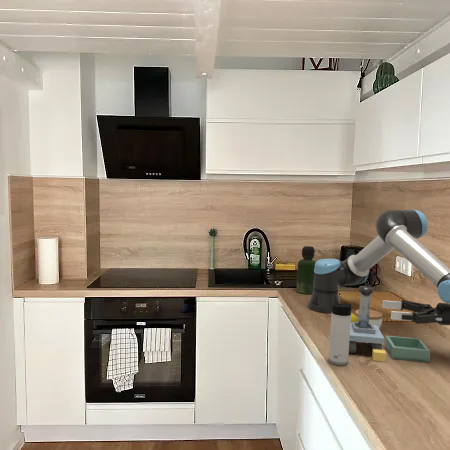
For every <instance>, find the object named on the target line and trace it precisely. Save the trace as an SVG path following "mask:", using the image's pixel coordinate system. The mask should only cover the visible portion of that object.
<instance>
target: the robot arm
mask: <svg viewBox="0 0 450 450" xmlns="http://www.w3.org/2000/svg"><path fill="white" fill-rule="evenodd" d="M428 224H429V223H428V219H427V217H426V215H425V214H424V213H423V212H421V211H420V210H417V209H388V210H385V211H383V212H382V213H381V214H379V216H378V217H377V218H376V221H375V230H376V233H377V236H376V237H375V238H374V239H372V240H371V241H370V243H368V244H367V245H366V246H364V248H363V249H361V250H360V251H359V252H358V253H357V254H352V255H350V256H348V257H347V258H346V259H345V260H343V261H342V260H339V259H337V258H321V259H318V260H316V263H315V268H314V285H313V293H312V294H310V295H311V296H310V298H309V301H308V308H309V309H310V310H311V311H315V312H318V313H325V314H332V305H333V304H342V302H341V299H340V296H339V287H342V286H358V285H361V284H364V283H365V282H366V281H367V279H369V273H370V269H371V268H372V267H374V266H375V265H376V264H377V263H379V262H380V261H381V260H382V259H383V258H384V257H386V256H387V255H389V254H390V253H391V252H392V251H393V250H394V249H395V250H396V251H397V252H398V253H400V254H401V256H403V257H404V258H405V259H406V260H407V261H408V262H409V263H410V264H411V265H412V266H413V267H415V268H416V269H417V270H418V271H419V272H420V273H421V274H422V275H423V276H424V277H425V278H426V279H428V280H429V282H431V283H432V284H433V285H434V286H435V287H436V289H437V290H436V291H437V294H438V297H439V299H440V300H441V301H442V302H438V303H437V304H436V306H435V307H433V306H431V304H429V303H421V302H416V301H409V300H405V299H402V300H401V301H397V300H386V299H385V300H384V299H383V300H382V306H381V307H382V309H390V310H391V309H392V310H391V311H390V320H394V321H405V322H412V323H415V324H416V325H421V324H422V325H423V324H434V323H437V324H438V325H439V326H440V325H441V326H450V268H449V267H448V266H447V265H446V264H445V263H444V262H443V261H442V260H440V259H439V258H438V257H437V256H436V255H434V254H433V252H431V251H429V249H428V248H427V247H426V246H425V245H423V243H421V242H420V241H418V240H417V239H421V238H422V237H424V236H425V235H426V233H427V231H428V226H429V225H428ZM394 310H395V311H394ZM396 310H400V311H396ZM403 310H405V311H403ZM407 311H410V312H407Z"/></svg>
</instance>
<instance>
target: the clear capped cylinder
mask: <svg viewBox="0 0 450 450" xmlns="http://www.w3.org/2000/svg"><path fill="white" fill-rule="evenodd" d="M358 292H359V293H360V296H359V307H358V308H359V321H358V328H365V329H368V328H369V315H370V310H371V301H372V294H374V287H372V286H370V285H369V286H367V285H359V288H358Z"/></svg>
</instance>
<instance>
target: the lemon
mask: <svg viewBox="0 0 450 450" xmlns="http://www.w3.org/2000/svg"><path fill="white" fill-rule="evenodd" d="M352 322H357V318H356V316H355V313H352V312H351V323H352Z"/></svg>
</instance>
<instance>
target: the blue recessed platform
mask: <svg viewBox="0 0 450 450" xmlns="http://www.w3.org/2000/svg"><path fill="white" fill-rule="evenodd" d="M357 342H358V343H359V342H360V343H367V344H368V346H371V350H372V349H379V350H383V345H385V337H384V335H383V333H382V332H381V330H380V328H378V326H377V325H373V324H371V323H369V328H368V329H365V328H358V322H352V323H351V325H350V339H349V353H353V354H356V352H357Z"/></svg>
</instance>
